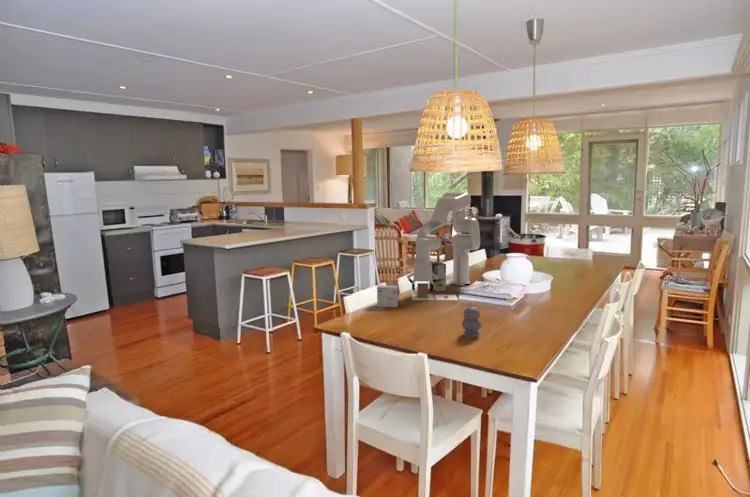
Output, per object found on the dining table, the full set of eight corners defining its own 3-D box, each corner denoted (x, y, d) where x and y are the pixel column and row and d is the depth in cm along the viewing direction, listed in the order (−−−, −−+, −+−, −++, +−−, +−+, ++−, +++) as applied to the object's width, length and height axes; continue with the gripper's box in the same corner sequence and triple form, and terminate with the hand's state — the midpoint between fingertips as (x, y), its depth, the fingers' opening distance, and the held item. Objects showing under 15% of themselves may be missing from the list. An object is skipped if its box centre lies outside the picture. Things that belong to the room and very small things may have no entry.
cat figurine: (470, 330, 198) (470, 303, 197) (485, 334, 193) (486, 307, 191) (457, 334, 193) (458, 307, 191) (472, 339, 187) (473, 310, 185)
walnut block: (417, 295, 260) (417, 283, 259) (427, 295, 259) (427, 283, 258) (417, 297, 254) (418, 285, 253) (427, 297, 254) (428, 285, 253)
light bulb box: (398, 304, 243) (398, 284, 241) (397, 307, 236) (397, 287, 235) (378, 303, 244) (378, 283, 242) (376, 307, 237) (376, 286, 236)
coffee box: (446, 290, 273) (446, 263, 271) (437, 291, 271) (437, 264, 268) (437, 287, 282) (438, 261, 279) (428, 288, 279) (429, 262, 277)
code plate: (434, 294, 262) (434, 294, 262) (455, 295, 262) (455, 294, 262) (436, 300, 250) (436, 299, 250) (458, 300, 250) (458, 299, 250)
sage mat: (411, 294, 264) (411, 293, 264) (432, 294, 263) (432, 293, 263) (412, 300, 250) (412, 299, 250) (434, 300, 250) (434, 299, 250)
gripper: (407, 261, 251) (407, 292, 253) (439, 261, 250) (438, 292, 252) (407, 259, 258) (406, 289, 260) (438, 259, 257) (437, 289, 260)
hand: (422, 290), depth 256 cm, fingers open, 9 cm apart
